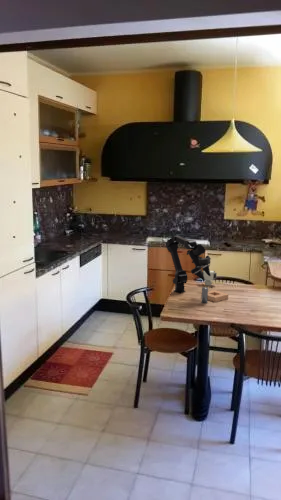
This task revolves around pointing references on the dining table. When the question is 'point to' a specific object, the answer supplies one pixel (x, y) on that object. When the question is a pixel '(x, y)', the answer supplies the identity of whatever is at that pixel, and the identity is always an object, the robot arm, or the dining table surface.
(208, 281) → the pneumatic valve
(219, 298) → the docking socket
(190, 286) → the dining table surface
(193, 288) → the dining table surface
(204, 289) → the cylinder
